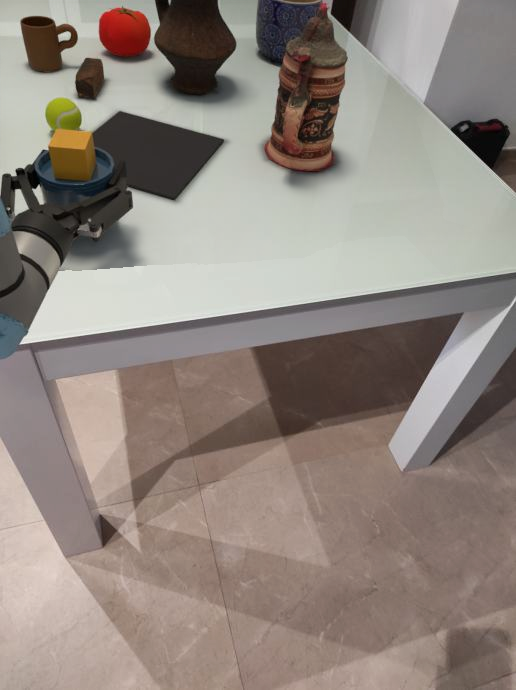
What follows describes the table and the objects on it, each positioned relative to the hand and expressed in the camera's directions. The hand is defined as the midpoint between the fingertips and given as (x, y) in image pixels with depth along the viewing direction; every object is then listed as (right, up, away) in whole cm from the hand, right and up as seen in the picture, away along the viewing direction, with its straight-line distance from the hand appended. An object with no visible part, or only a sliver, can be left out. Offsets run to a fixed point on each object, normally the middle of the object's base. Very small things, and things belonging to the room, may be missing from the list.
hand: (85, 163), depth 79 cm
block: (0, -2, -3) cm, 4 cm away
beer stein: (+34, +11, +27) cm, 45 cm away
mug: (-21, +38, +43) cm, 61 cm away
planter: (+34, +51, +62) cm, 87 cm away
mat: (+4, +10, +22) cm, 24 cm away
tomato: (-7, +46, +52) cm, 70 cm away
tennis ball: (-12, +14, +24) cm, 30 cm away
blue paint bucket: (-1, -7, +2) cm, 7 cm away
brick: (-11, +30, +37) cm, 49 cm away
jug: (+11, +35, +44) cm, 57 cm away
